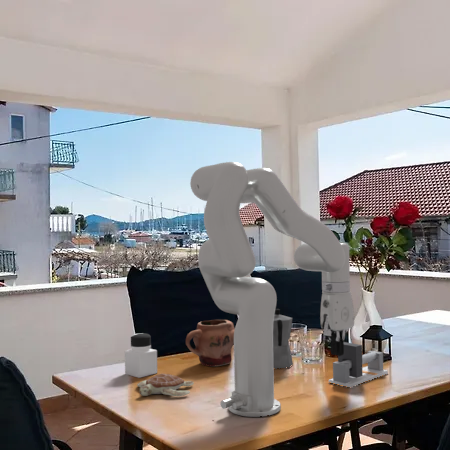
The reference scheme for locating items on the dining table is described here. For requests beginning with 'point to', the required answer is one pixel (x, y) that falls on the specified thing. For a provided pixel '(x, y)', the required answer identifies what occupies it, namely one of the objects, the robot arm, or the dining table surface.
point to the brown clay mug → (212, 342)
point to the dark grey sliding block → (353, 358)
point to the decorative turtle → (163, 385)
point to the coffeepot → (281, 341)
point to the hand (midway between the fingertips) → (337, 354)
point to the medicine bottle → (140, 357)
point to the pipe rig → (369, 371)
